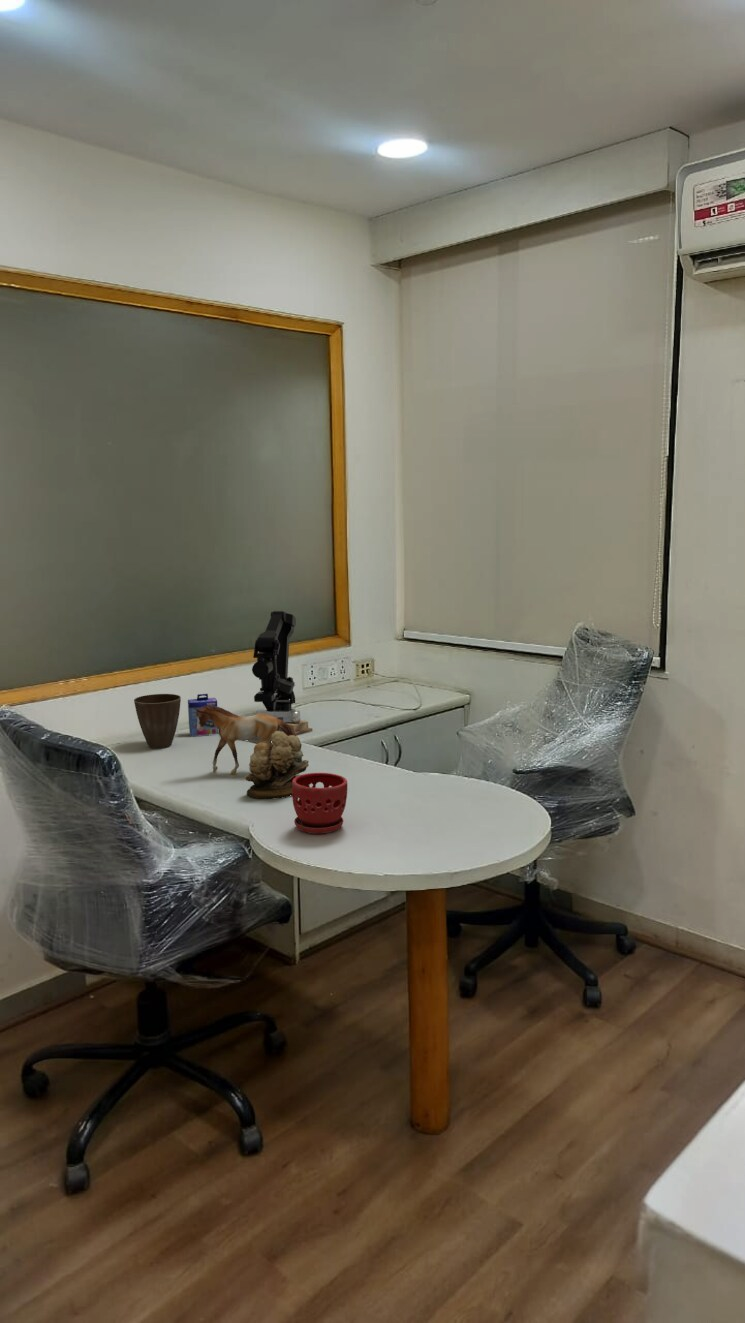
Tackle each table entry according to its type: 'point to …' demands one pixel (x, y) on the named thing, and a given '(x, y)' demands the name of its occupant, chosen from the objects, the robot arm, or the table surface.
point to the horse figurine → (239, 728)
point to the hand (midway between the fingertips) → (272, 716)
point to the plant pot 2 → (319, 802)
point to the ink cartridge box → (196, 703)
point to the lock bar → (282, 715)
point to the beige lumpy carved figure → (275, 767)
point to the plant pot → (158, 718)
